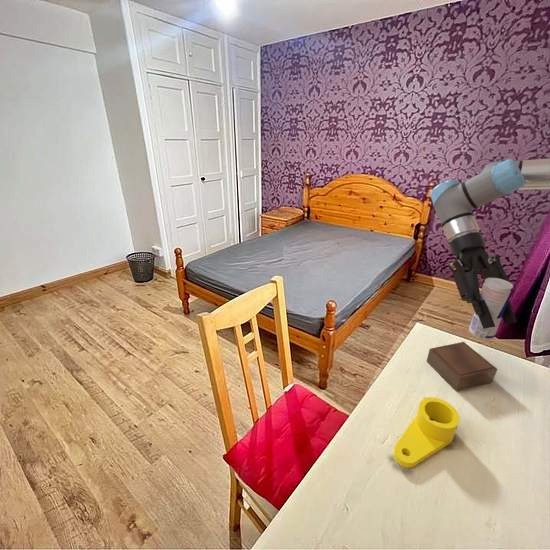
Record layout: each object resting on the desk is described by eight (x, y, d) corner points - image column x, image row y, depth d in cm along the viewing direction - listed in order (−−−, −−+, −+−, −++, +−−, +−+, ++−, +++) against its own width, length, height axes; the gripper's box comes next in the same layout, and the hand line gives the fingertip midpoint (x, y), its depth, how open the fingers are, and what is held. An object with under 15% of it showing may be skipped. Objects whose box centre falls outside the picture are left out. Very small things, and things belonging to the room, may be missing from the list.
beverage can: (497, 342, 75) (517, 289, 68) (471, 338, 76) (488, 286, 70) (490, 329, 80) (509, 278, 73) (466, 325, 81) (482, 275, 74)
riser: (459, 354, 96) (463, 341, 94) (492, 382, 85) (497, 368, 83) (426, 361, 93) (429, 348, 91) (455, 391, 83) (460, 377, 81)
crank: (426, 408, 78) (431, 391, 76) (460, 432, 72) (466, 415, 70) (382, 448, 69) (385, 430, 67) (415, 479, 63) (421, 461, 60)
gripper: (482, 239, 85) (517, 321, 78) (424, 247, 81) (455, 334, 74) (505, 226, 77) (546, 316, 71) (442, 234, 74) (480, 329, 67)
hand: (500, 325), depth 72 cm, fingers closed on beverage can, 6 cm apart
